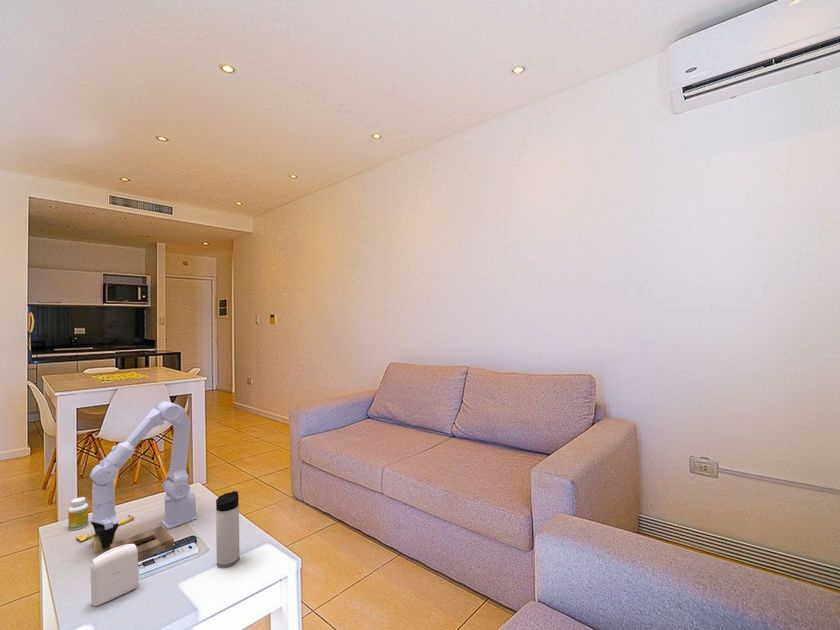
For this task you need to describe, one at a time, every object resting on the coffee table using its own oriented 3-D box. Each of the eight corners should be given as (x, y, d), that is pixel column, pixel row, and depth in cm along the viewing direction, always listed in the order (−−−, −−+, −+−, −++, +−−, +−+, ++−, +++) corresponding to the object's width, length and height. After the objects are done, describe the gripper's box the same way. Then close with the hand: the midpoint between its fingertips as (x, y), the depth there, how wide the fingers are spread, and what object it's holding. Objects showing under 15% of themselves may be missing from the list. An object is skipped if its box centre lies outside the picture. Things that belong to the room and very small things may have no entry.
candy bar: (130, 518, 147) (130, 513, 147) (136, 520, 145) (136, 515, 145) (74, 541, 132) (74, 535, 132) (80, 544, 130) (80, 538, 130)
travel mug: (245, 556, 121) (244, 492, 121) (228, 569, 115) (227, 501, 115) (229, 553, 123) (228, 489, 123) (211, 565, 117) (210, 499, 117)
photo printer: (92, 609, 100) (92, 561, 100) (89, 601, 103) (88, 554, 103) (140, 587, 108) (140, 543, 108) (136, 581, 111) (135, 537, 111)
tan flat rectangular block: (112, 543, 130) (112, 528, 130) (114, 545, 128) (114, 530, 128) (93, 550, 126) (93, 534, 126) (95, 553, 125) (95, 537, 125)
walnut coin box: (161, 537, 133) (161, 525, 133) (174, 551, 125) (173, 538, 125) (110, 557, 122) (109, 544, 122) (119, 573, 114) (119, 559, 114)
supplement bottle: (76, 531, 138) (76, 503, 138) (64, 529, 139) (64, 502, 139) (92, 523, 143) (91, 496, 143) (80, 522, 144) (80, 495, 144)
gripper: (83, 499, 129) (83, 540, 129) (92, 513, 120) (93, 558, 120) (110, 492, 134) (110, 531, 134) (120, 504, 125) (121, 547, 125)
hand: (104, 543), depth 127 cm, fingers open, 7 cm apart
